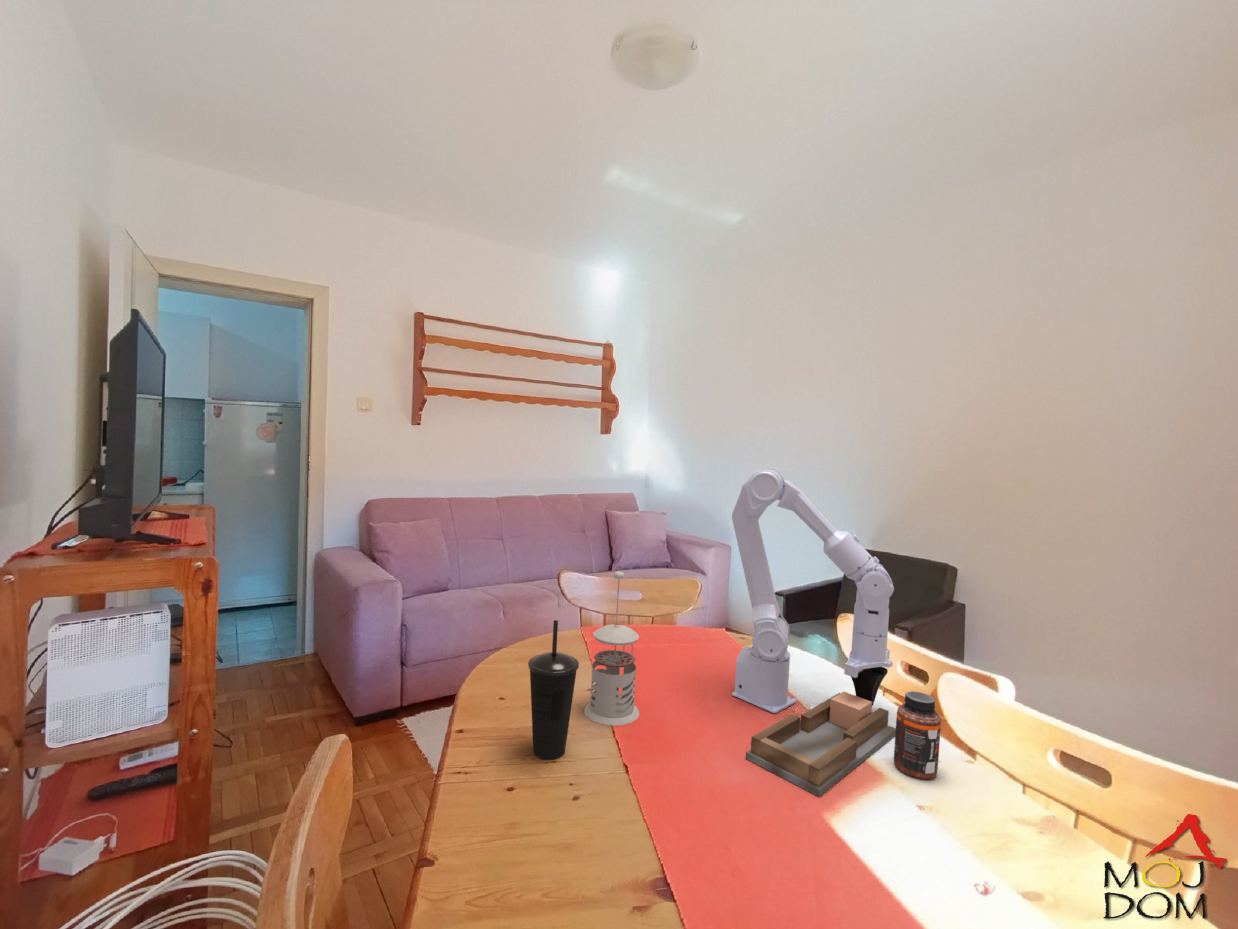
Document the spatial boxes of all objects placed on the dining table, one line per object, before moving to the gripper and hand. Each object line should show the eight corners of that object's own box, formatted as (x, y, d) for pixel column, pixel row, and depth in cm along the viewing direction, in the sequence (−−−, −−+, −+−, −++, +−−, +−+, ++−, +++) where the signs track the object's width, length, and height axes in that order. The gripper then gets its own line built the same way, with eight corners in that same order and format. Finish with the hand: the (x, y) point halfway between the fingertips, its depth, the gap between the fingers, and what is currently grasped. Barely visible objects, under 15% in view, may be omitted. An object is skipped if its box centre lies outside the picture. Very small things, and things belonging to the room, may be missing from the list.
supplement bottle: (943, 784, 82) (949, 708, 81) (899, 777, 83) (904, 702, 82) (929, 762, 88) (934, 691, 87) (888, 756, 89) (893, 685, 88)
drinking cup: (583, 746, 87) (589, 618, 86) (557, 771, 80) (564, 632, 79) (541, 733, 90) (547, 610, 89) (513, 756, 83) (520, 623, 82)
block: (829, 721, 97) (830, 699, 97) (842, 713, 100) (843, 691, 100) (857, 733, 93) (859, 710, 93) (870, 724, 96) (872, 701, 96)
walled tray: (745, 758, 86) (746, 736, 86) (829, 708, 104) (831, 689, 104) (819, 797, 77) (820, 772, 77) (896, 734, 96) (898, 714, 96)
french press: (574, 717, 96) (581, 572, 95) (601, 691, 107) (608, 561, 106) (627, 731, 92) (635, 581, 91) (650, 702, 103) (657, 568, 102)
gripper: (876, 646, 92) (870, 727, 93) (908, 630, 102) (903, 703, 103) (834, 634, 97) (829, 711, 98) (869, 620, 107) (864, 689, 108)
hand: (864, 706), depth 101 cm, fingers closed
